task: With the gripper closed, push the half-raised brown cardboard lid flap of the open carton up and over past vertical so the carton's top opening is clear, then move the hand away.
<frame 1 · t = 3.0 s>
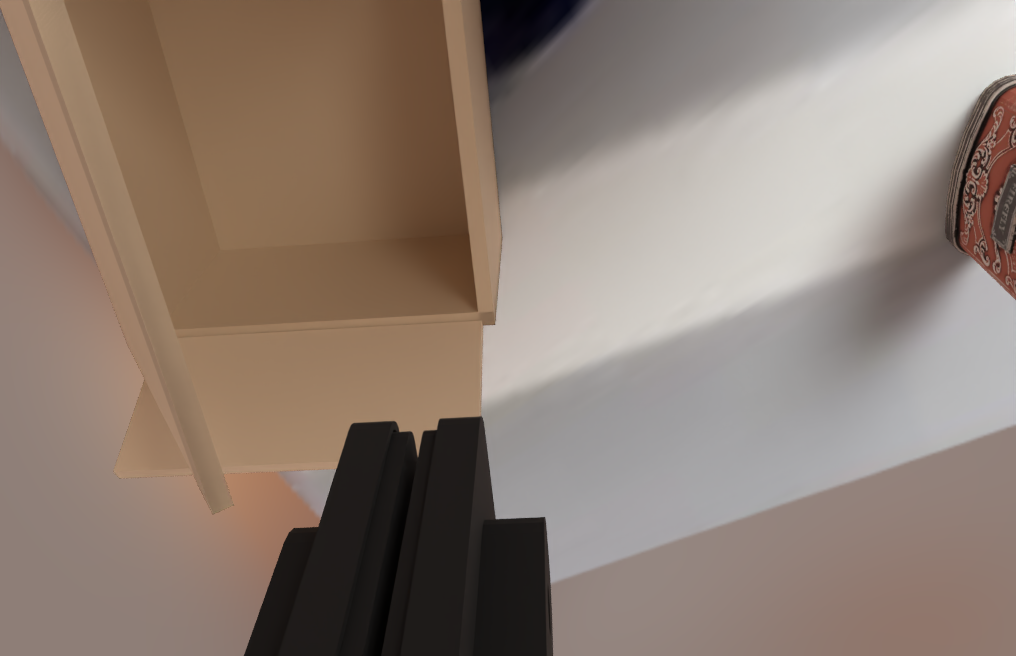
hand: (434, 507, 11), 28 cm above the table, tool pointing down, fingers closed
lid flap: (85, 172, 24), point 13 cm above the table, hinge at 55.0°
carton: (319, 55, 35), on the table
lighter: (989, 164, 37), on the table
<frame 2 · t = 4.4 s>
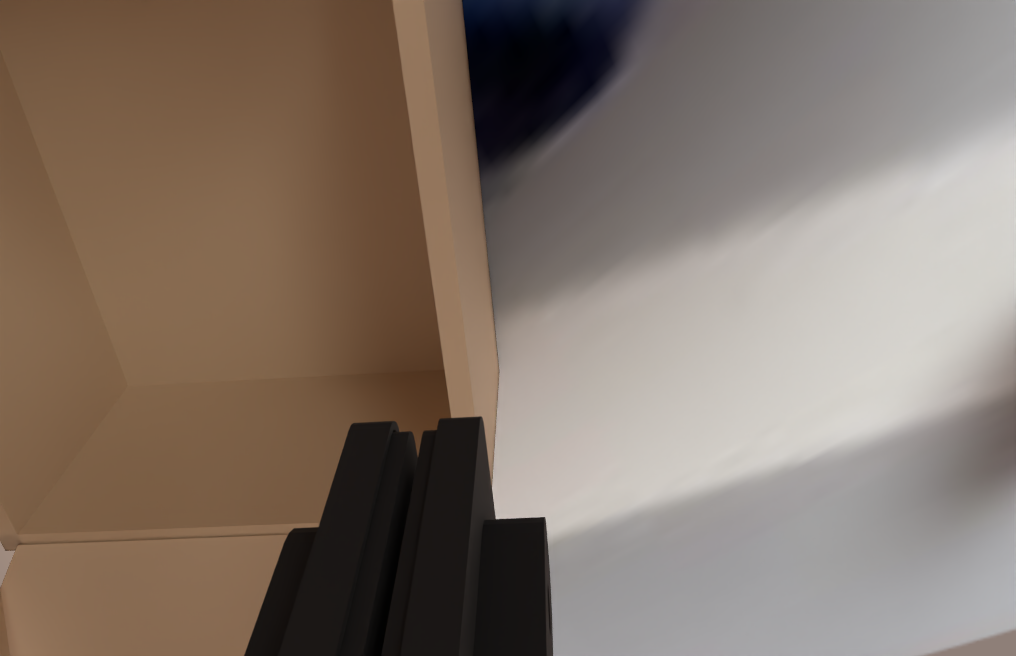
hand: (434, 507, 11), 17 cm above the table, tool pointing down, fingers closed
carton: (250, 142, 26), on the table
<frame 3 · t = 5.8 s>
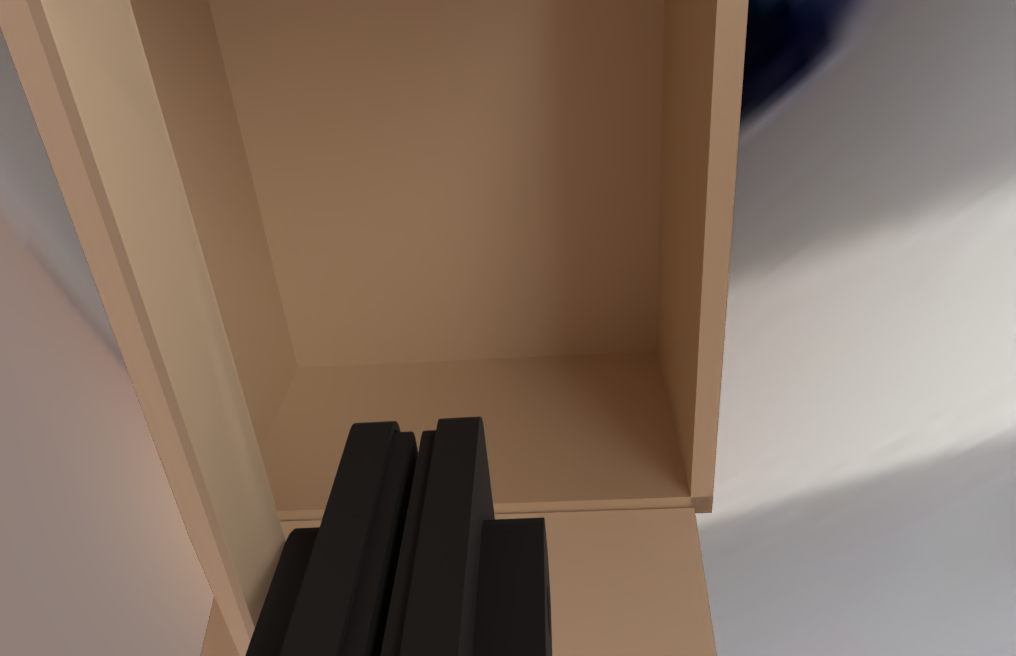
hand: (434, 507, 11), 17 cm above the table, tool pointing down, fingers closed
lid flap: (157, 366, 14), point 13 cm above the table, hinge at 55.7°, touching gripper
carton: (450, 121, 25), on the table
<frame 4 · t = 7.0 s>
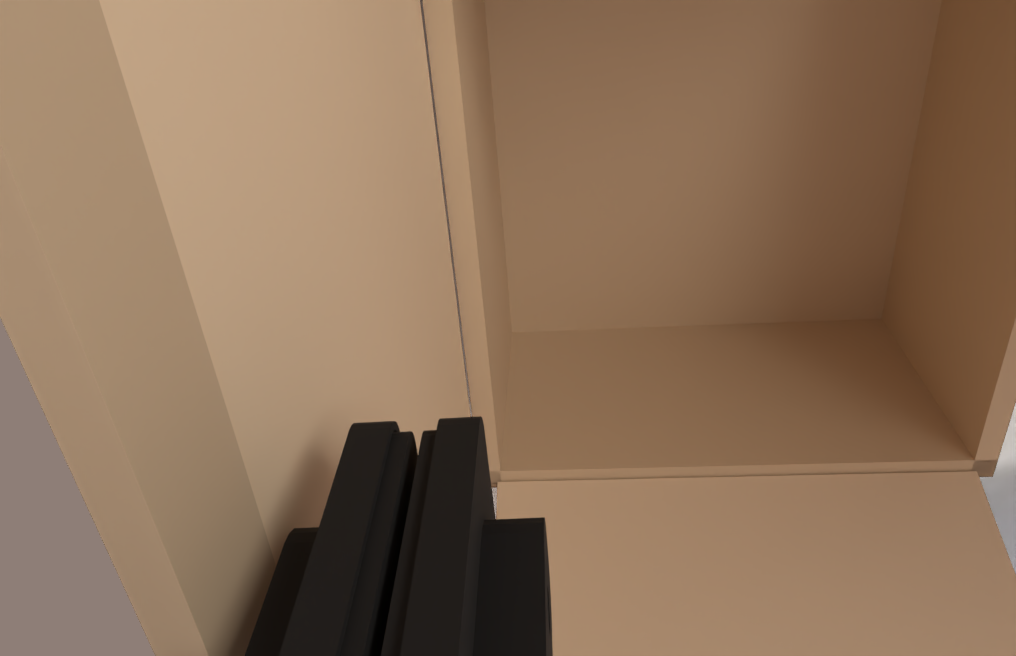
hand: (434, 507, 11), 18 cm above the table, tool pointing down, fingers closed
lid flap: (352, 339, 14), point 14 cm above the table, hinge at 95.2°, touching gripper
carton: (702, 80, 25), on the table
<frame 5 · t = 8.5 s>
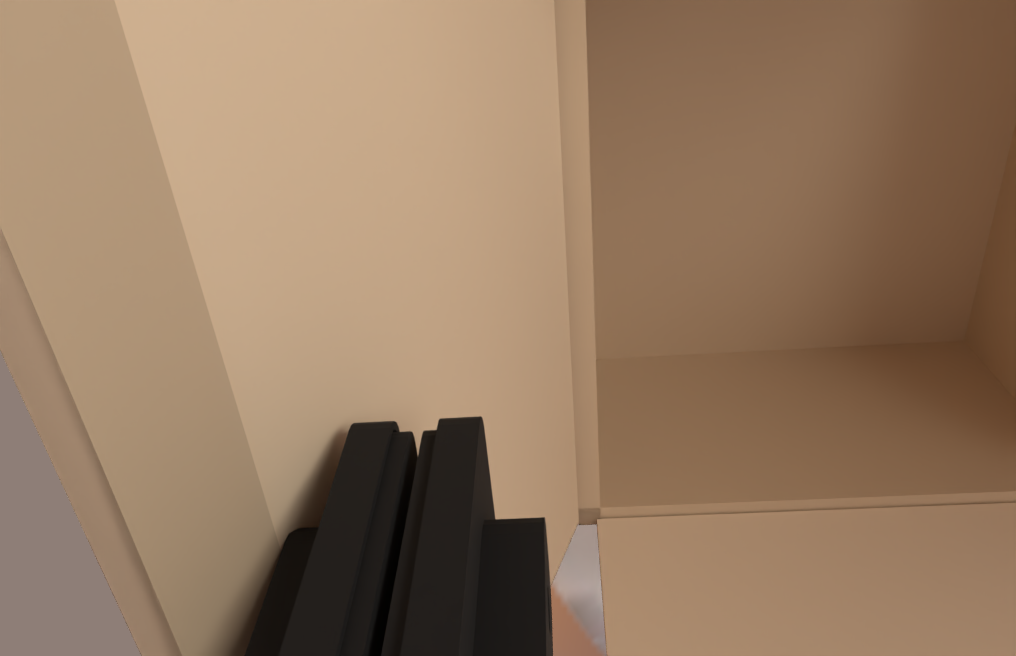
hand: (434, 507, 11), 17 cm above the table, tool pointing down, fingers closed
lid flap: (431, 377, 13), point 14 cm above the table, hinge at 109.9°, touching gripper
carton: (790, 101, 25), on the table
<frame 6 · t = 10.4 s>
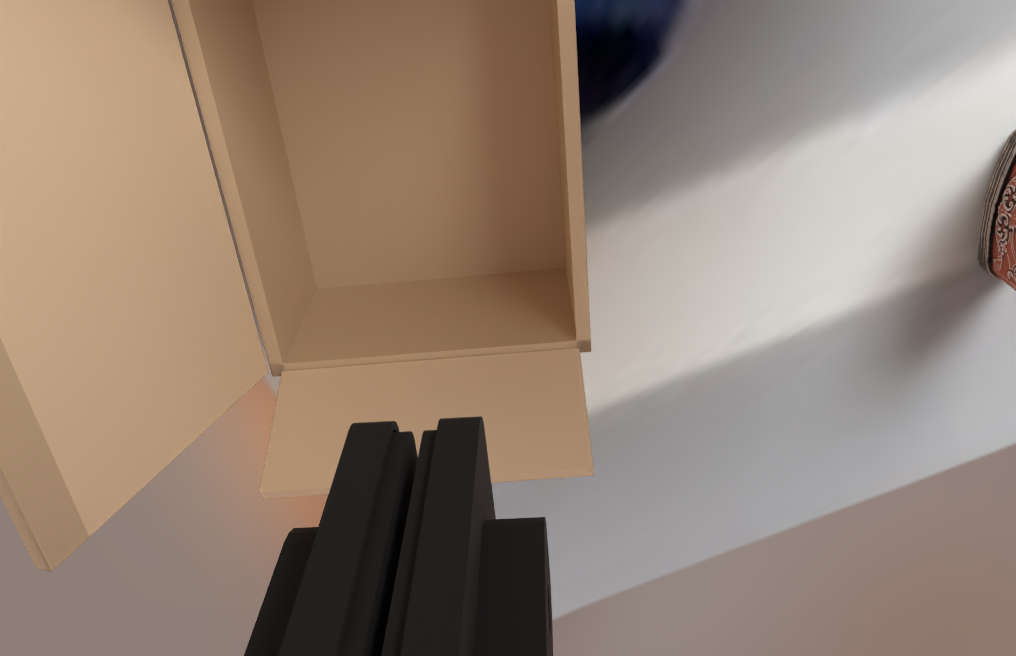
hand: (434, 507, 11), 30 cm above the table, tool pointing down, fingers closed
lid flap: (94, 244, 27), point 14 cm above the table, hinge at 109.9°
carton: (418, 111, 39), on the table
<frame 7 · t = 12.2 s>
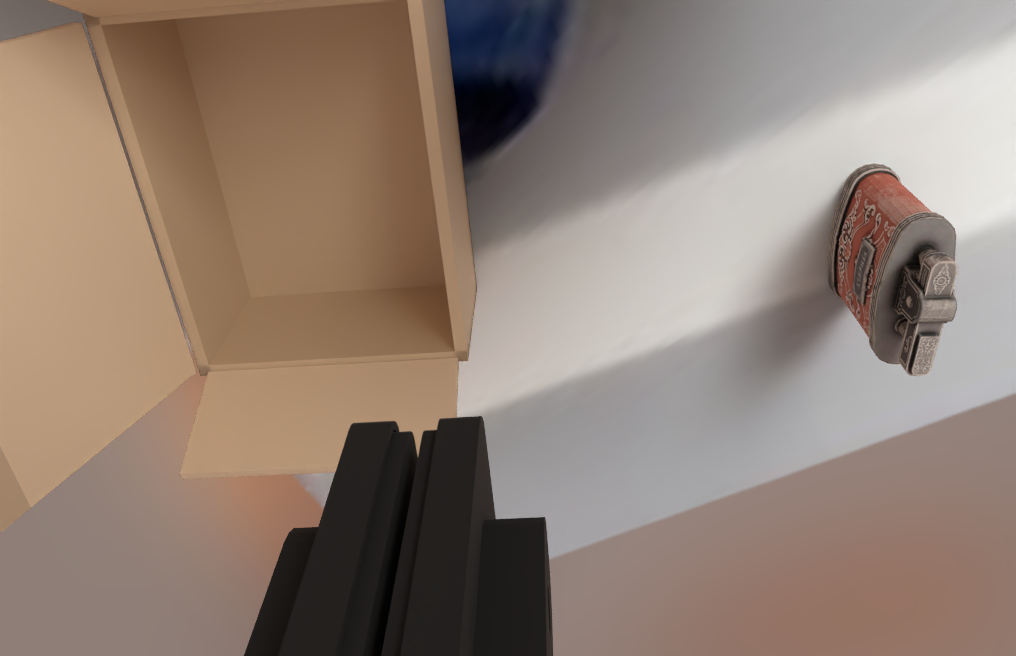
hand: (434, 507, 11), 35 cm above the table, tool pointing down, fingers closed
lid flap: (34, 274, 33), point 14 cm above the table, hinge at 109.9°
carton: (332, 149, 45), on the table
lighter: (859, 230, 47), on the table
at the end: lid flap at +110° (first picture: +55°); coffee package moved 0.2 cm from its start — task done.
